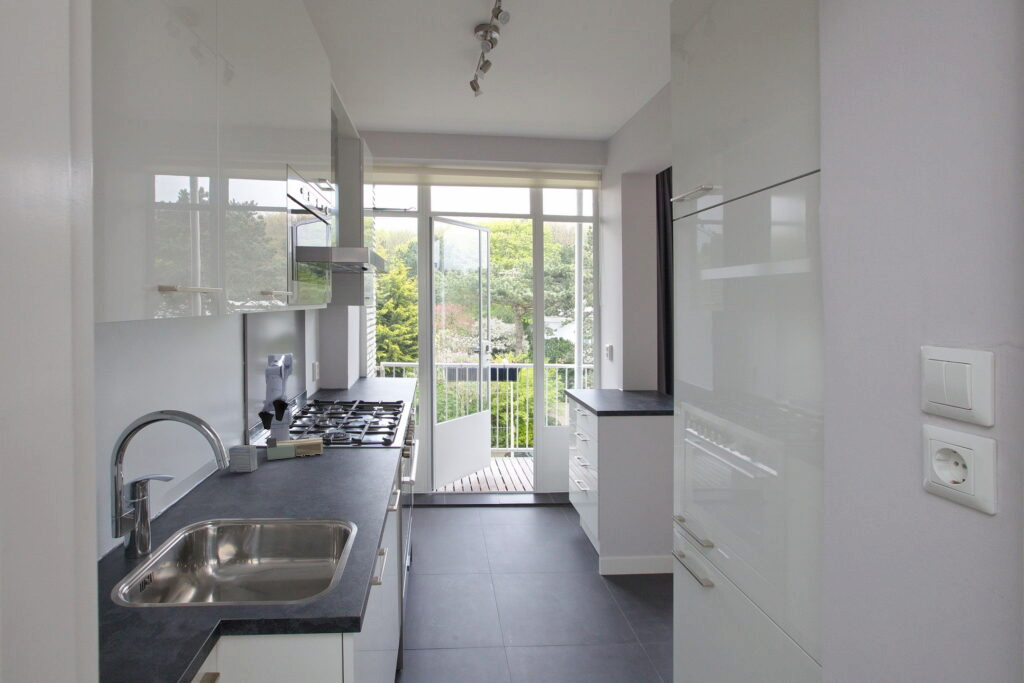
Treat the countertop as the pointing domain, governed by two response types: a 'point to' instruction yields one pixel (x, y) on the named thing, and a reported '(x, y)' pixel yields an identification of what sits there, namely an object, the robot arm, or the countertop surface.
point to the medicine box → (243, 458)
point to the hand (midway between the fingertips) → (272, 424)
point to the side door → (279, 450)
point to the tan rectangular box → (304, 446)
